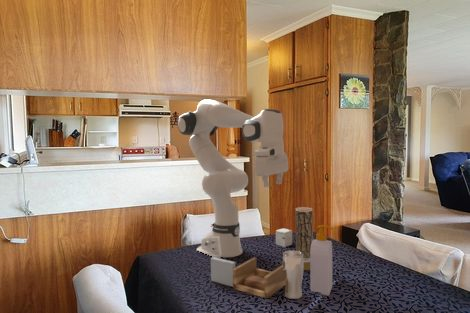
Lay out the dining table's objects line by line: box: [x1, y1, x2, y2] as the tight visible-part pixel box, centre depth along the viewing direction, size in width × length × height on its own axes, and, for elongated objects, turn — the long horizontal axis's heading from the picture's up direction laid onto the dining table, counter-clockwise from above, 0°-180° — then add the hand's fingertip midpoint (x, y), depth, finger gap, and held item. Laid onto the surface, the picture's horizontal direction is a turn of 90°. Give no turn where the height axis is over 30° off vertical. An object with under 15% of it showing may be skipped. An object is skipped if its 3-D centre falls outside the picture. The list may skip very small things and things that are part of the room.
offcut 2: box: [244, 282, 264, 291], centre depth 122 cm, size 9×4×2 cm, turn 55°
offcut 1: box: [245, 275, 264, 288], centre depth 121 cm, size 8×4×2 cm, turn 59°
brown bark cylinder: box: [295, 206, 314, 271], centre depth 140 cm, size 7×7×25 cm
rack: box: [232, 257, 285, 299], centre depth 123 cm, size 14×14×8 cm
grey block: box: [210, 257, 237, 288], centre depth 127 cm, size 10×2×9 cm, turn 55°
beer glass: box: [282, 250, 305, 300], centre depth 116 cm, size 7×7×15 cm
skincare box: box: [275, 228, 293, 248], centre depth 173 cm, size 6×6×7 cm
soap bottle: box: [309, 224, 333, 296], centre depth 121 cm, size 9×7×23 cm
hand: (273, 185), depth 136 cm, fingers open, 8 cm apart
